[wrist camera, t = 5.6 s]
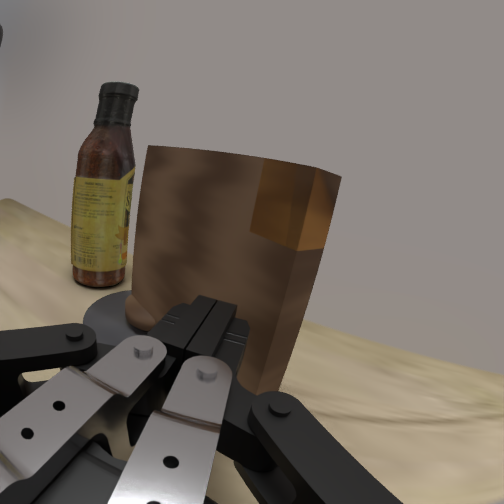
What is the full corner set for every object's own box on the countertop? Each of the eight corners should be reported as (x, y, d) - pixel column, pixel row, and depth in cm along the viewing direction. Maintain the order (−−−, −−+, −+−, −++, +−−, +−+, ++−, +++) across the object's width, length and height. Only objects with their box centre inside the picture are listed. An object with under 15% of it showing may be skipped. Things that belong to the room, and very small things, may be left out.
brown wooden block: (116, 306, 20) (131, 143, 17) (164, 298, 23) (184, 151, 20) (229, 431, 12) (296, 160, 8) (285, 396, 15) (353, 181, 12)
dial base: (56, 343, 16) (53, 327, 16) (129, 290, 26) (129, 277, 26) (197, 406, 15) (199, 390, 14) (235, 322, 25) (238, 309, 25)
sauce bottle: (134, 286, 28) (165, 86, 22) (78, 294, 23) (104, 72, 18) (113, 263, 32) (137, 95, 26) (65, 267, 27) (86, 86, 22)
